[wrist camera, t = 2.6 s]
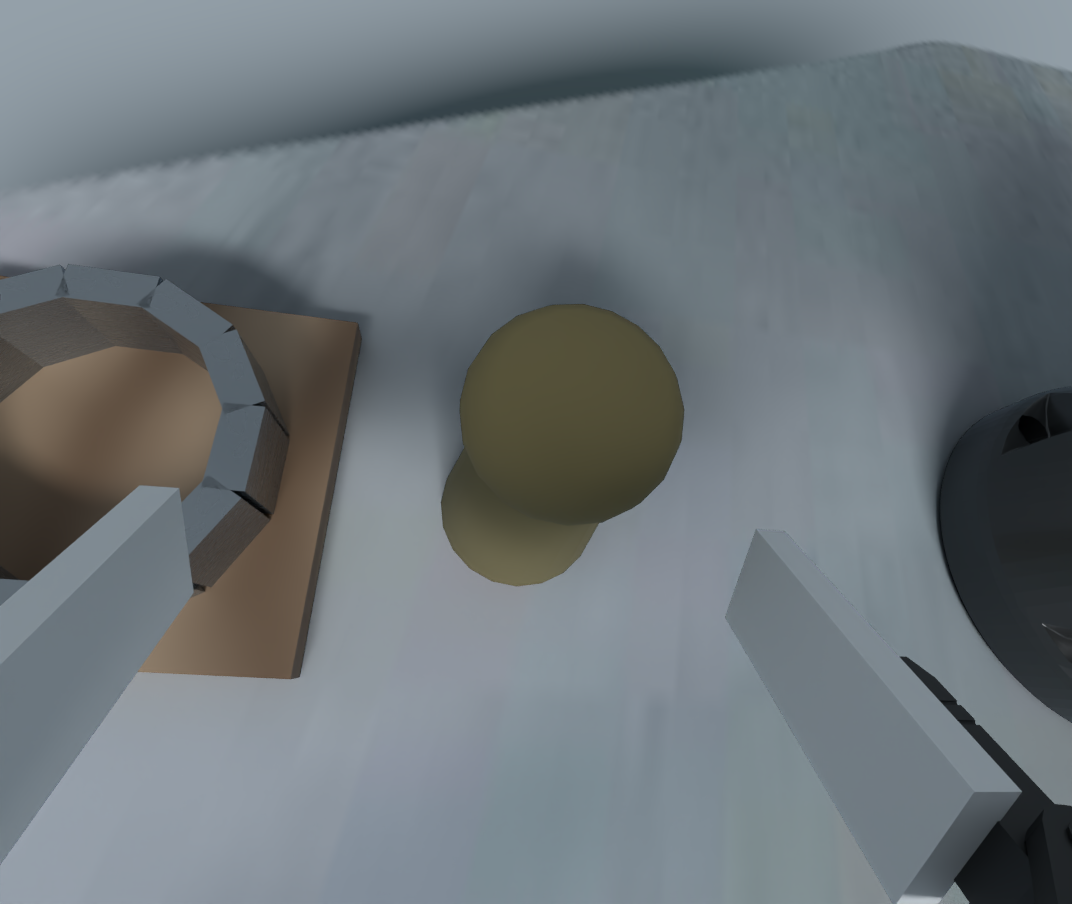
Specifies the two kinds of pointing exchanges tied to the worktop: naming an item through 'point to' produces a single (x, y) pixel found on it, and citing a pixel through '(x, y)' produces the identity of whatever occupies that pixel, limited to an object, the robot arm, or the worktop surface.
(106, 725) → the worktop surface
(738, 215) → the worktop surface
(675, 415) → the cork
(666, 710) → the worktop surface
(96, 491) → the walnut board
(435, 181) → the worktop surface
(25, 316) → the steel collar
